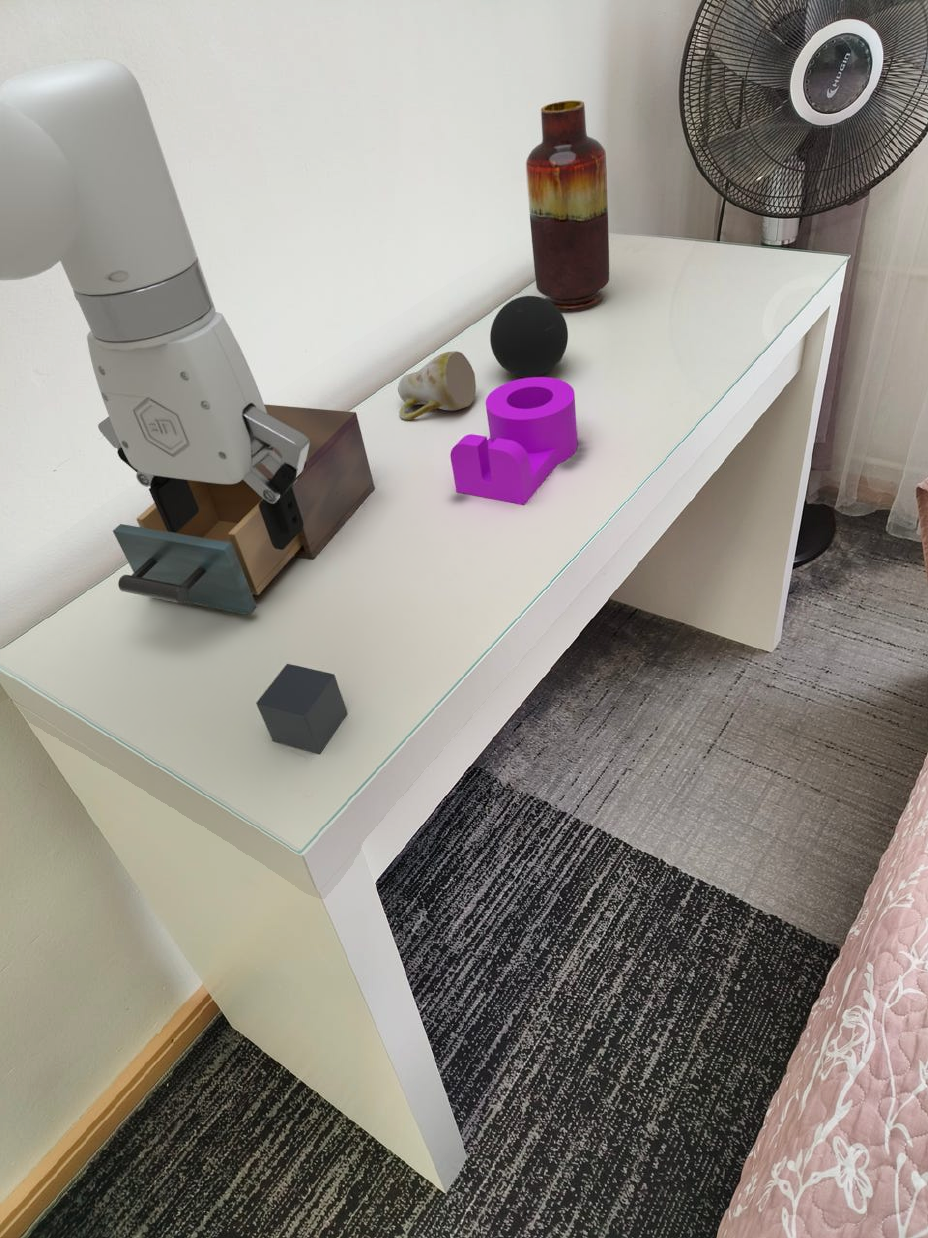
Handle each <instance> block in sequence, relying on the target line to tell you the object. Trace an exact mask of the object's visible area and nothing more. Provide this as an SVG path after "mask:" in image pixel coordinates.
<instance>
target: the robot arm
mask: <svg viewBox="0 0 928 1238" xmlns="http://www.w3.org/2000/svg"><path fill="white" fill-rule="evenodd" d="M184 215H185V214H184V212H183V209H182V206H181V203H180V200H179V197H178V194H177V191H176V188H175V186H174V183H173V179H172V176H171V173H170V170H169V168H168V164H167V161H166V158H165V156H164V152H163V149H162V145H161V144H160V140H159V137H158V133H157V132H156V128H155V126H154V123H153V119H152V116H151V113H150V110H149V107H148V105H147V101H146V99H145V97H144V94H143V91H142V89H141V86H140V84H139V82H138V80H137V78H136V76H135V75H134V74H133V72H132V71H131V70H130V69H129V68H128V67H127V66H125V64H123V63H121V62H119V61H117V60H114V59H109V58H87V59H86V58H85V59H78V60H72V61H67V62H61V63H57V64H51V65H47V66H43V67H39V68H35V69H32V70H28V71H25V72H21V73H19V74H17V75H14V76H13V77H10V78H7V80H5V81H4V82H3V83H1V84H0V281H18V280H24V279H28V278H32V277H35V276H38V275H40V274H42V273H45V272H46V271H48V270H51V269H52V268H53V267H54V266H56V265H57V264H58V263H59V262H60V263H61V266H62V268H63V271H64V272H65V275H66V277H67V279H68V282H69V284H70V286H71V288H72V291H73V294H74V298H75V300H76V301H77V302H78V304H79V307H80V309H81V311H82V314H83V317H84V318H85V321H86V322H87V325H88V327H89V329H90V331H89V332H88V333H87V335H86V342H87V346H88V353H89V357H90V361H91V365H92V370H93V373H94V376H95V380H96V383H97V386H98V389H99V392H100V395H101V398H102V401H103V403H104V406H105V410H106V411H107V415H108V416H107V417H106V418H105V419H103V420H102V421H100V423H98V425H97V428H98V430H99V431H100V433H101V435H103V436H104V438H105V439H106V440H107V441H108V442H109V444H110V445H111V446H112V447H113V448H114V449H117V452H116V453H117V455H118V457H119V459H120V460H121V461H122V462H124V463H125V464H126V465H127V466H128V467H130V468H131V469H132V470H133V471H134V472H136V475H135V476H136V480H137V482H138V483H139V484H140V485H142V486H143V487H146V488H148V487H149V488H148V491H149V493H150V496H151V498H152V500H153V502H154V503H155V505H156V507H157V509H158V511H159V513H160V516H161V518H162V520H163V522H164V525H165V527H166V529H167V531H168V532H173V533H176V532H178V531H179V530H180V529H181V528H182V527H183V526H184V525H185V524H186V523H188V522H189V521H190V520H191V519H192V518H193V517H194V516H195V515H196V514H197V513H198V512H199V508H198V505H197V503H196V500H195V498H194V495H193V493H192V491H191V488H190V486H189V483H188V481H187V480H192V481H200V482H208V483H217V484H235V483H238V482H240V481H241V480H242V479H243V480H244V481H245V482H246V483H247V484H248V485H249V486H250V487H252V488H253V489H254V490H255V491H256V492H257V493H258V494H259V495H260V496H261V497H262V498H263V500H262V501H261V502H260V503H259V509H260V512H261V515H262V517H263V520H264V523H265V526H266V529H267V531H268V534H269V537H270V540H271V543H272V545H273V547H274V548H275V549H279V550H284V549H285V548H286V546H287V545H288V544H289V543H290V542H291V541H292V540H293V539H294V538H295V537H296V535H297V534H298V533H299V532H300V531H301V530H302V529H303V520H302V517H301V514H300V510H299V507H298V504H297V501H296V498H295V495H294V492H293V489H292V485H293V484H294V483H295V482H296V481H297V480H298V477H299V476H300V475H301V473H302V472H303V471H304V469H305V468H306V463H305V461H306V458H307V453H308V449H309V444H310V443H309V439H308V437H307V436H306V435H304V434H303V433H301V432H299V431H297V430H295V429H294V428H292V427H290V426H288V425H286V424H285V423H283V422H281V421H279V420H277V419H276V418H274V417H272V416H270V415H268V414H267V412H266V409H265V406H264V404H265V403H264V400H263V398H262V395H261V392H260V390H259V387H258V385H257V382H256V380H255V378H254V375H253V372H252V370H251V368H250V365H249V364H248V362H247V360H246V357H245V354H244V353H243V350H242V349H241V347H240V345H239V342H238V340H237V338H236V337H235V335H234V333H233V330H232V328H231V327H230V325H229V323H228V321H227V320H226V318H225V317H224V315H223V313H221V312H218V311H216V307H215V304H214V301H213V298H212V296H211V295H212V294H211V292H210V289H209V287H208V283H207V280H206V276H205V275H204V272H203V268H202V265H201V263H200V259H199V257H198V255H197V253H198V252H197V250H196V247H195V245H194V241H193V239H192V235H191V233H190V230H189V227H188V224H187V221H186V218H185V216H184ZM274 448H276V449H277V450H278V451H279V452H280V453H281V458H280V457H279V456H278V455H277V454H276V453H275V452H274V451H273V450H274ZM251 454H254V455H253V456H252V457H251ZM260 462H261V463H262V464H263V465H264V466H265V467H266V468H267V469H269V470H270V471H271V472H272V473H273V474H274V476H273V477H272V479H271V480H270V481H269V480H268V479H267V478H266V477H265V476H264V475H263V474H262V473H261V472H260V471H259V470H258V469H257V468H255V467H256V466H257V465H258V464H259V463H260Z"/></svg>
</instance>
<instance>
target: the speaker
mask: <svg viewBox="0 0 928 1238" xmlns="http://www.w3.org/2000/svg"><path fill="white" fill-rule="evenodd" d="M562 313H563V312H560V310H559V309H558V308H557V307H556V306H555V305H554V304H553V303H551V302H550V301H548V300H546V299H545V297H544V298H543V297H541V296H537V295H523V296H519V297H516V298H514V299H512V300H510V301H508V302H507V303H506V304H505V305H504V306H502V307H501V309H500V310H499V311H498V312H497V314H496V315H495V317H494V319H493V321H492V324H491V328H490V335H489V336H490V337H489V339H490V340H489V341H490V348H491V350H492V354H493V356H494V358H495V360H496V361H497V362H498V364H499V365H500V366H501V368H502V369H504V370H505V371H506V372H508V373H510V374H511V375H514V376H517V377H520V378H530V377H541V376H543V375H545V374H547V373H549V372H550V371H551V370H552V369H554V368H555V367H556V366H557V365H558V364H559V363H560V362H561V360H562V359H563V357H564V354H565V352H566V350H567V346H568V342H569V341H568V340H569V330H568V325H567V322H566V319H565V317H564V315H563V314H562Z"/></svg>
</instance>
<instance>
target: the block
mask: <svg viewBox="0 0 928 1238" xmlns="http://www.w3.org/2000/svg"><path fill="white" fill-rule="evenodd" d="M255 704H256V706H257V709H258V711H259V713H260V715H261V718H262V720H263V722H264V724H265V727H266V729H267V731H268V733H269V736H270V738H271V740H272V741H273V742H275V743H279V744H281V745H286V746H289V747H293V748H295V749H300V750H303V751H307V752H311V753H314V754H318V755H320V754H321V753H322V751H323V750H324V748H325V747H326V745H328V743H329V741H330V740H331V738H332V737H333V735H334V734H335V732H336V731H337V730H338V728H339V726H340V725H341V723H343V720H344V719H345V718H346V716H347V715H348V710H347V707H346V704H345V701H344V698H343V695H342V692H341V689H340V686H339V683H338V681H337V677H336V675H335V674H334V673H330V672H327V671H322V670H317V669H313V668H309V667H304V666H299V665H296V664H291V663H286V665H285V666H284V667H283V668H282V670H280V672H279V673H278V675H277V676H276V677H275V678H274V679H273V681H272V682H271V684H270V685H269V686H268V687H267V689H266V690H265V691H264V692H263V694H262V695H261V696H260V697H259V698H258V700H257V701H256V702H255Z"/></svg>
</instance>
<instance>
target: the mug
mask: <svg viewBox="0 0 928 1238" xmlns="http://www.w3.org/2000/svg"><path fill="white" fill-rule="evenodd" d="M476 382H477V381H476V374H475V372H474V369H473V367H472V365H471V363H470V361H469V359H468V358H467V357H466V356H465V354H463V353H462V352H460V351H457V350H455V351H446V352H443V353H440V354H438V355H437V356H435V357H434V358H432V359H430V361H428V362H427V363H426V364H425V365H423V367H421V369H419V370H417V371H415V372H410V373H408V374H405V375H403V376H402V377H401V379H400V380H399V383H398V386H397V392H398V395H399V397H400V399H401V400H402V401H403V403H404V404H403V405H402V406H400V408H399V411H398V413H399V418H401V419H402V420H409V421H410V420H411V421H412V420H415V419H417V418H418V417H421V416H423V415H425V414H426V413H428V412H431V411H433V410H435V409H439V410H443V411H459V410H462V409H464V408H467V407H469V406H471V405H472V404H473V402H474V400H475V396H476V392H477V391H476V390H477V384H476ZM418 405H423V406H422V407H420V408H418V409H417V410H415V411H414V412H411V413H407V410H408V409H409V407H411V406H418Z"/></svg>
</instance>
